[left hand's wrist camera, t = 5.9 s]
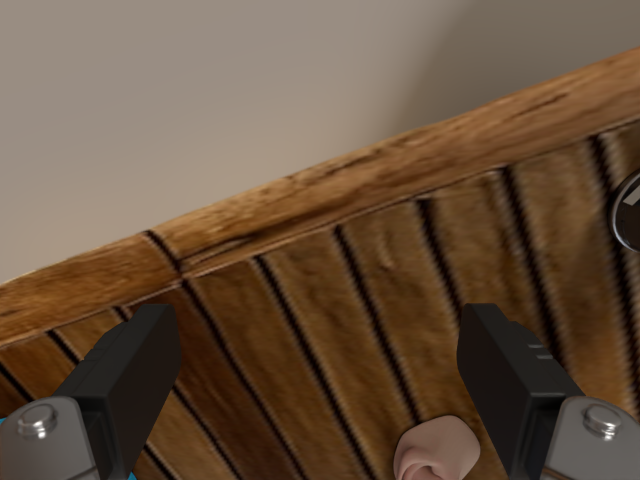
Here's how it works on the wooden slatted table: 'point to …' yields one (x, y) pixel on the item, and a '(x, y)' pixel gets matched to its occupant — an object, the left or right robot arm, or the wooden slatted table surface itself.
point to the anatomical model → (436, 451)
